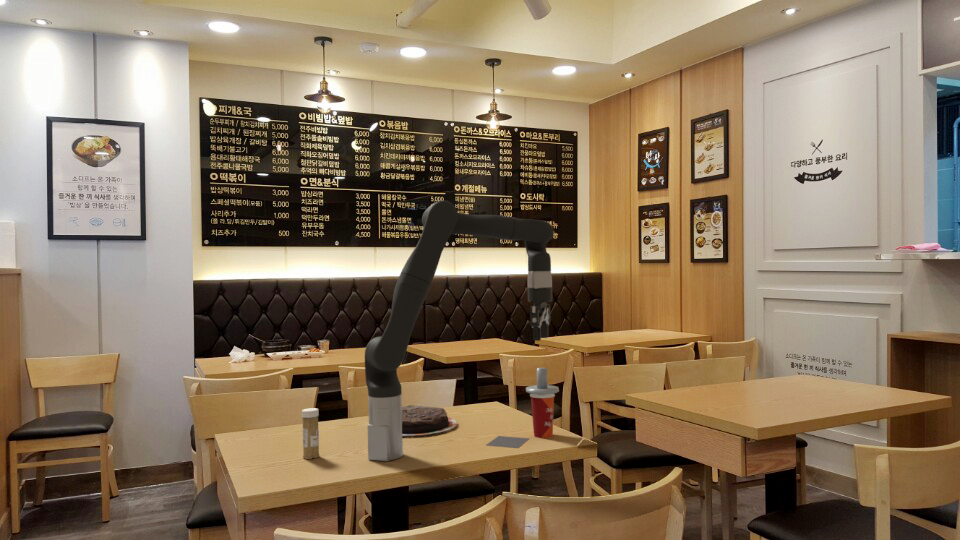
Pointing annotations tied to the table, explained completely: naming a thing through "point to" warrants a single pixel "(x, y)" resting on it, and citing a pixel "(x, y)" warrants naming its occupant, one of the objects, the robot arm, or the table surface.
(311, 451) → the sprinkles bottle
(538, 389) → the lid
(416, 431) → the chocolate cake
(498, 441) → the mat
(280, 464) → the table surface
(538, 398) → the paper cup
